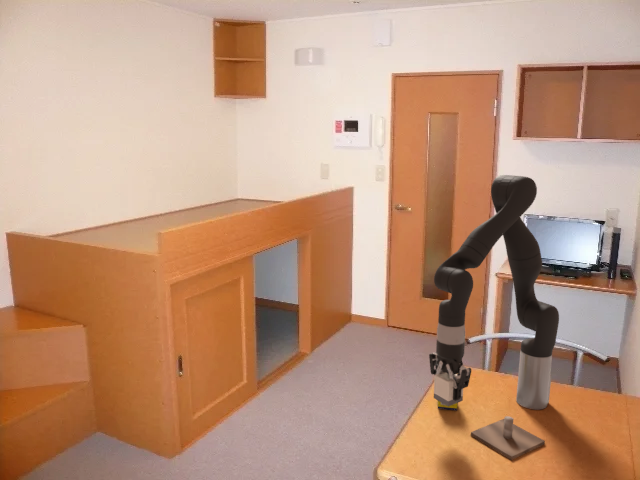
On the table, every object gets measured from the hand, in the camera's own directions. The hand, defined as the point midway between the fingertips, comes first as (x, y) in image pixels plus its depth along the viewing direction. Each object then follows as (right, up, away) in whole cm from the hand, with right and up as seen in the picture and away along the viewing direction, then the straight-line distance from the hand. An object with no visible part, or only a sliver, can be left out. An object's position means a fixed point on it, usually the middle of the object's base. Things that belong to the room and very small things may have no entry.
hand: (448, 394), depth 156 cm
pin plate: (+17, -13, 0) cm, 21 cm away
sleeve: (0, -1, 0) cm, 1 cm away
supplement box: (+4, -9, +19) cm, 22 cm away
